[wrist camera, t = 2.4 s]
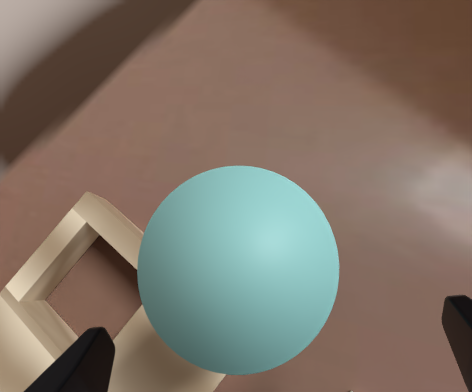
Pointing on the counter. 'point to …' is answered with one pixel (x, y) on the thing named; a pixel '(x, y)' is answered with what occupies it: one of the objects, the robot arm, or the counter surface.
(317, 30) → the counter surface
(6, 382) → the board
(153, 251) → the pin
